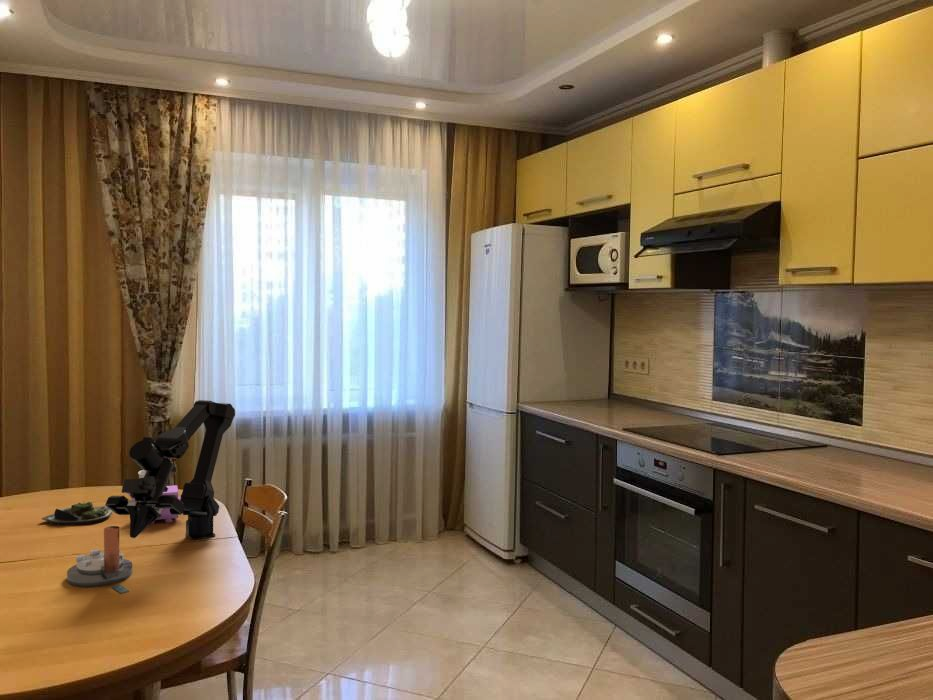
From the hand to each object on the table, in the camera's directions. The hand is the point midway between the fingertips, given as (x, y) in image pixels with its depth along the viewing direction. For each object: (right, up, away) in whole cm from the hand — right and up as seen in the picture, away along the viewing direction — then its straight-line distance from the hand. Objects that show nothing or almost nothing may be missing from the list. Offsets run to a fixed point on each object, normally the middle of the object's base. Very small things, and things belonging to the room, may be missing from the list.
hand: (132, 537), depth 172 cm
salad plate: (-37, -7, +45) cm, 59 cm away
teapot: (-13, -7, +46) cm, 48 cm away
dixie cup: (-25, -5, +66) cm, 70 cm away
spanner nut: (-6, -7, -2) cm, 9 cm away
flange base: (-6, -10, -3) cm, 11 cm away
